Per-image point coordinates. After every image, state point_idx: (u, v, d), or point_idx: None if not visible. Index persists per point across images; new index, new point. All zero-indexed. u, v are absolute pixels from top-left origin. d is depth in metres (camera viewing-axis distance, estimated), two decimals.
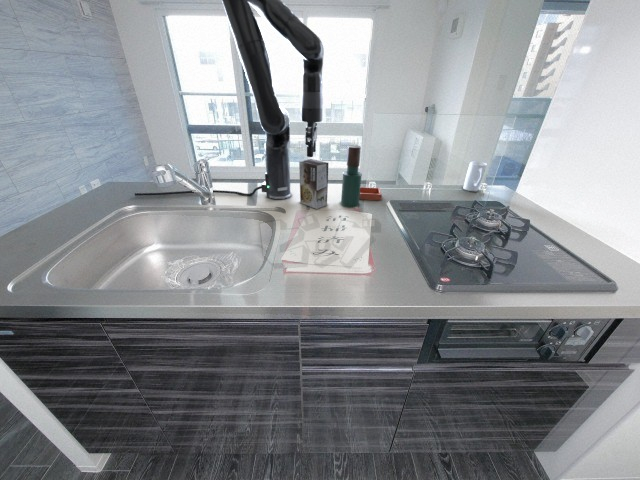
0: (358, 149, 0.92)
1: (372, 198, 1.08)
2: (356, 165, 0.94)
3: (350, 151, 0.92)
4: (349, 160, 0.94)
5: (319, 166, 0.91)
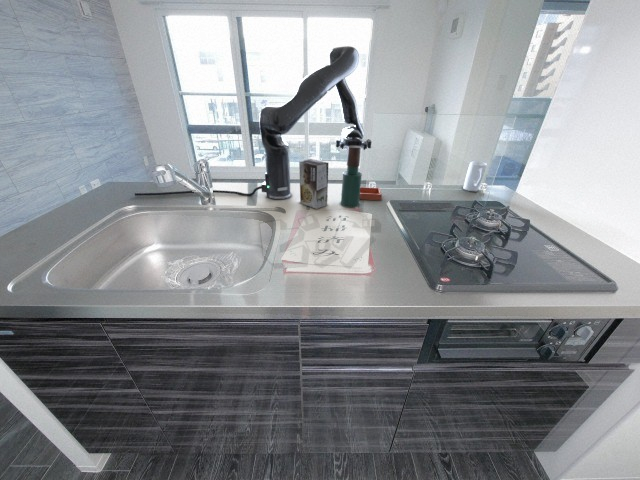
0: (358, 149, 0.92)
1: (372, 198, 1.08)
2: (356, 165, 0.94)
3: (350, 151, 0.92)
4: (349, 160, 0.94)
5: (319, 166, 0.91)
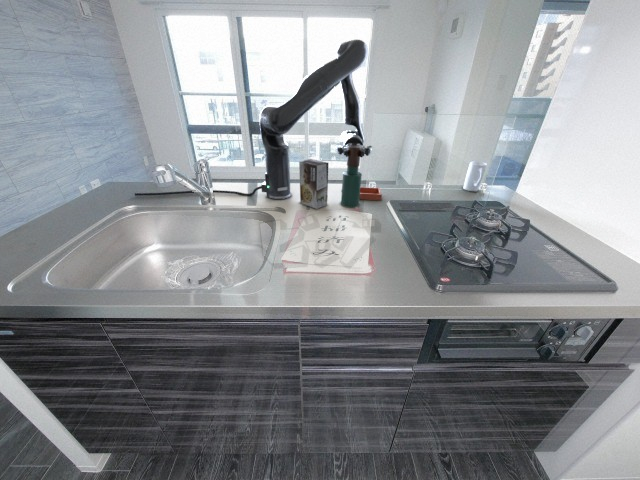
0: (358, 149, 0.92)
1: (372, 198, 1.08)
2: (356, 165, 0.94)
3: (350, 151, 0.92)
4: (349, 160, 0.94)
5: (319, 166, 0.91)
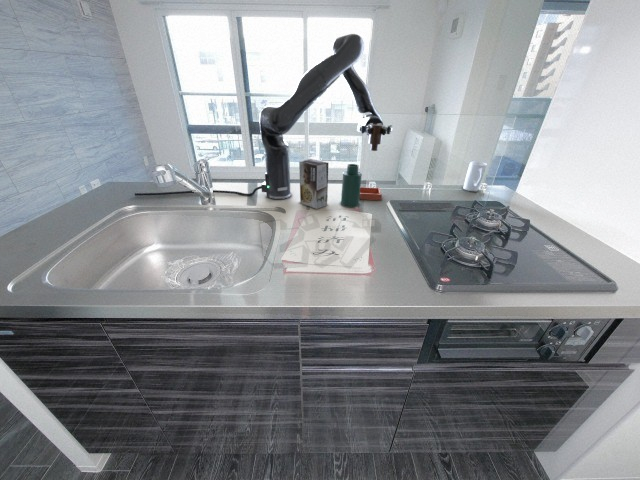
0: (381, 127, 0.97)
1: (372, 198, 1.08)
2: (378, 143, 0.99)
3: (373, 129, 0.97)
4: (372, 138, 0.99)
5: (319, 166, 0.91)
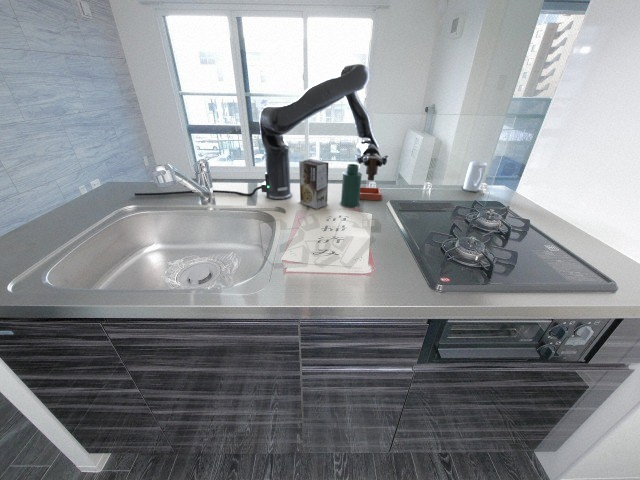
0: (377, 159, 1.02)
1: (372, 198, 1.08)
2: (374, 173, 1.05)
3: (369, 161, 1.03)
4: (368, 169, 1.05)
5: (319, 166, 0.91)
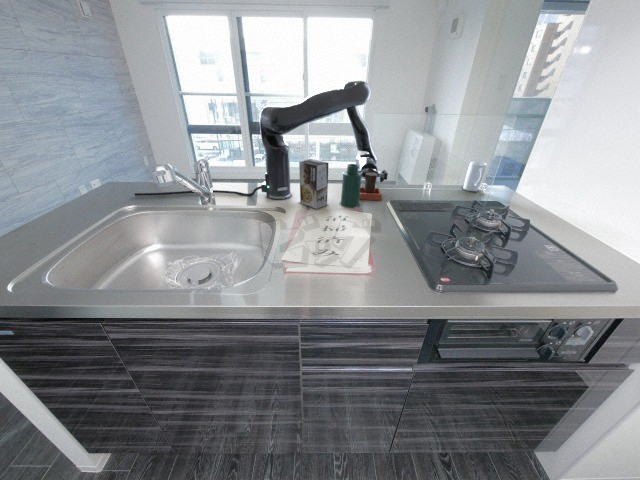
0: (375, 176, 1.06)
1: (372, 198, 1.08)
2: (372, 189, 1.08)
3: (367, 178, 1.06)
4: (366, 185, 1.08)
5: (319, 166, 0.91)
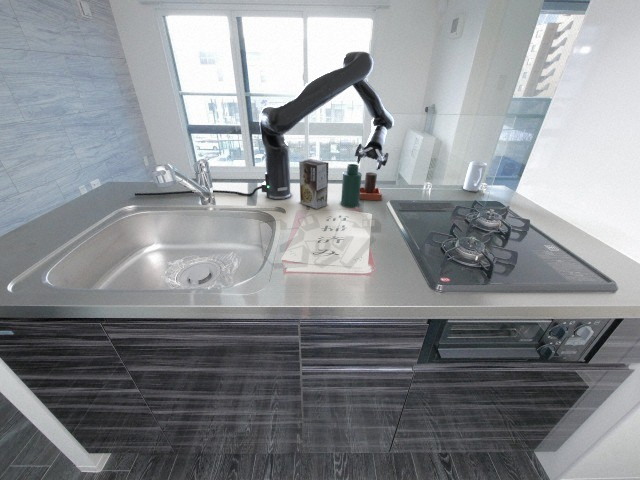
0: (375, 176, 1.06)
1: (372, 198, 1.08)
2: (372, 189, 1.08)
3: (367, 178, 1.06)
4: (366, 185, 1.08)
5: (319, 166, 0.91)
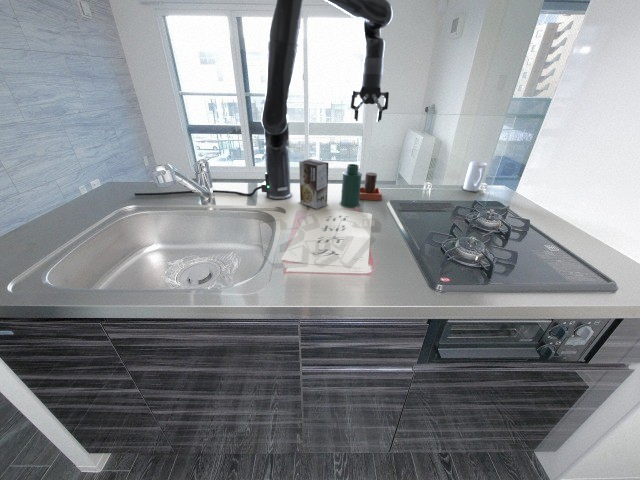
0: (375, 176, 1.06)
1: (372, 198, 1.08)
2: (372, 189, 1.08)
3: (367, 178, 1.06)
4: (366, 185, 1.08)
5: (319, 166, 0.91)
